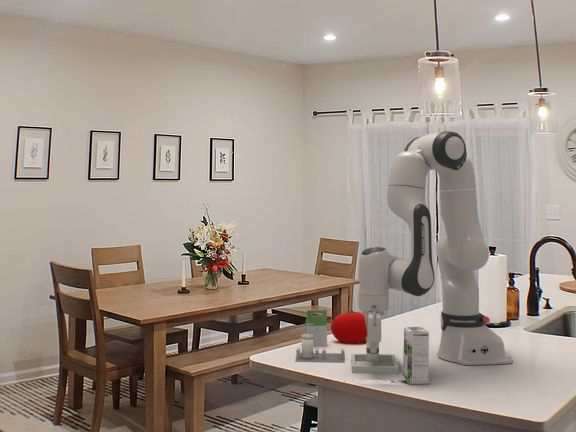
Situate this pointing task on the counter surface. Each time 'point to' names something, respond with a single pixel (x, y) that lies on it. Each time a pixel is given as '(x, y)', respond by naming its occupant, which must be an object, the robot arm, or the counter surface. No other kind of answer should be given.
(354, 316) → the tomato
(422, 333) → the syrup box
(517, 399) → the counter surface
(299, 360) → the holder
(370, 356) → the fuse
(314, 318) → the ink box
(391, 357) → the tray
